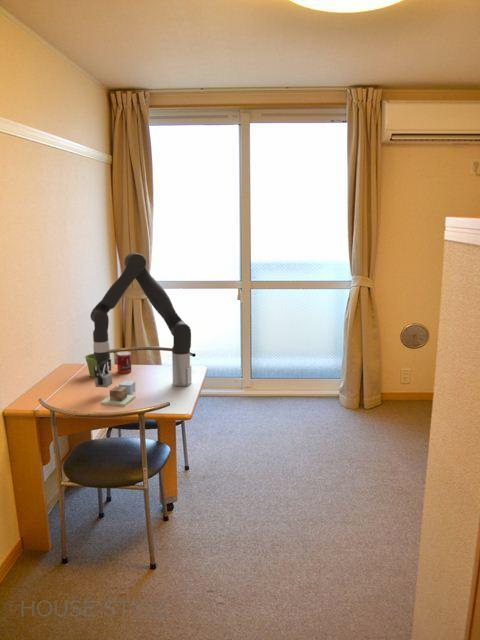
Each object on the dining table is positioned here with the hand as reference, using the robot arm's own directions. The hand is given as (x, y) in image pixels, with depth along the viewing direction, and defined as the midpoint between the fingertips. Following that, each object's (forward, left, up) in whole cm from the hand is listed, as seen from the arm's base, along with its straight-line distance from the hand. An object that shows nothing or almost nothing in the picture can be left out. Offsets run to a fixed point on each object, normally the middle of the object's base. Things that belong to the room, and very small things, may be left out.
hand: (103, 382), depth 253 cm
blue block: (-10, -6, -6) cm, 13 cm away
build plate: (-11, +6, -6) cm, 14 cm away
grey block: (0, 0, -1) cm, 1 cm away
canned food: (+6, -37, -6) cm, 38 cm away
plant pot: (+18, -27, -6) cm, 33 cm away
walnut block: (-11, +6, -5) cm, 13 cm away
